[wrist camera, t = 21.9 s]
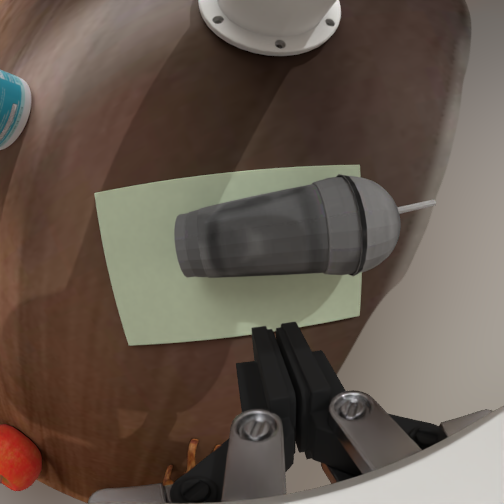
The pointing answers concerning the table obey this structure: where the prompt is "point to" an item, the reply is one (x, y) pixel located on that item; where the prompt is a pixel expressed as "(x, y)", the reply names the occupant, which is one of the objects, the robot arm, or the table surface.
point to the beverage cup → (293, 231)
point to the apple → (18, 459)
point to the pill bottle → (13, 107)
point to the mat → (204, 288)
